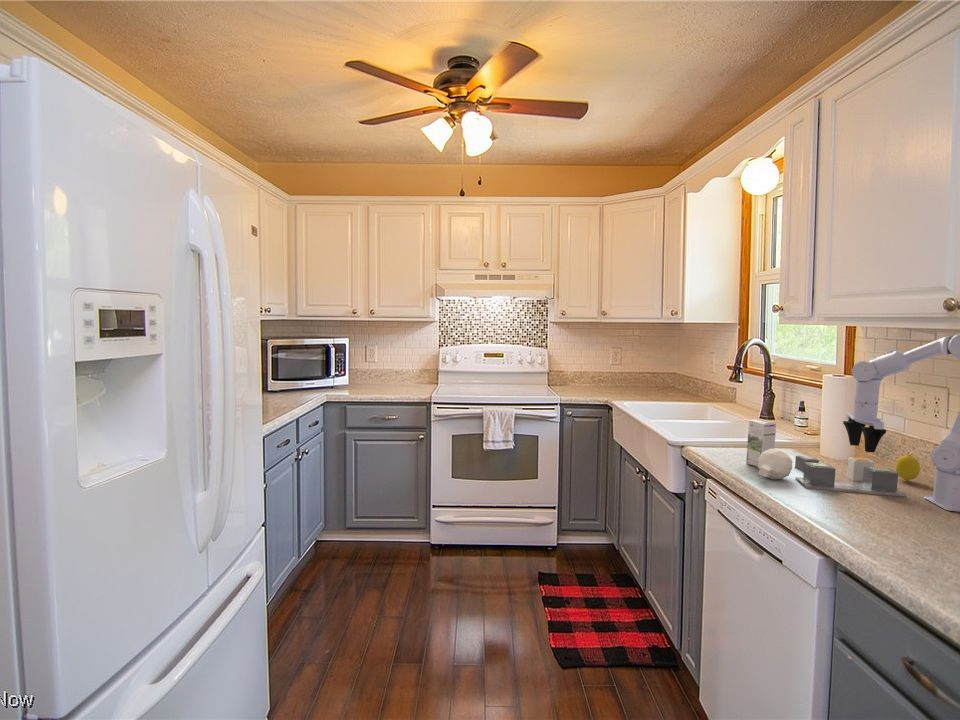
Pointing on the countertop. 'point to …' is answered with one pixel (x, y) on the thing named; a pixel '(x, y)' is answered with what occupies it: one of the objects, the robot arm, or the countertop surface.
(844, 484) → the rail
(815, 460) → the relay block
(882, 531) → the countertop surface
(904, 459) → the lemon
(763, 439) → the syrup box
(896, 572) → the countertop surface
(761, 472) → the beige faceted rounded lump
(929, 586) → the countertop surface
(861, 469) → the block
